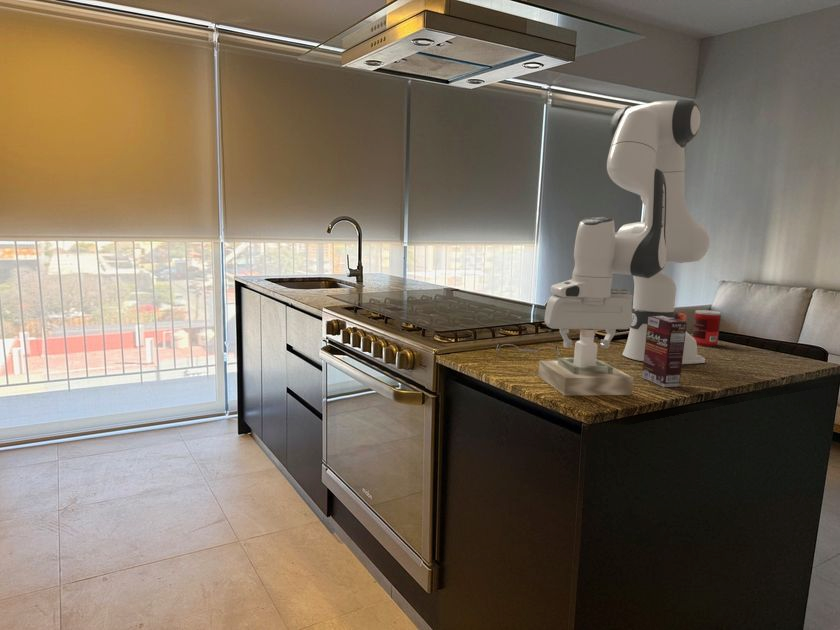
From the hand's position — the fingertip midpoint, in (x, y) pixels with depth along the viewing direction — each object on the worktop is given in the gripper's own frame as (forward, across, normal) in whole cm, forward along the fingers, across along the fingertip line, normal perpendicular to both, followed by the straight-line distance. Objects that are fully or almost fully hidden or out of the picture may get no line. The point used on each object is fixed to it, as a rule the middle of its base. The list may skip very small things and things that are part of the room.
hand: (586, 347), depth 135 cm
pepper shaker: (+5, 0, 0) cm, 5 cm away
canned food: (+9, -65, -48) cm, 81 cm away
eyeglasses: (+10, +1, -36) cm, 37 cm away
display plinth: (+9, 0, 0) cm, 9 cm away
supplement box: (+9, -21, -2) cm, 23 cm away
